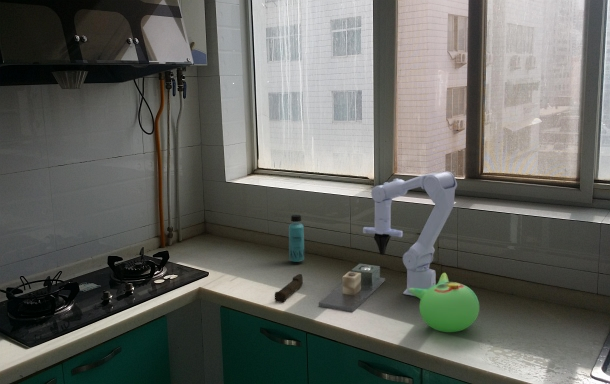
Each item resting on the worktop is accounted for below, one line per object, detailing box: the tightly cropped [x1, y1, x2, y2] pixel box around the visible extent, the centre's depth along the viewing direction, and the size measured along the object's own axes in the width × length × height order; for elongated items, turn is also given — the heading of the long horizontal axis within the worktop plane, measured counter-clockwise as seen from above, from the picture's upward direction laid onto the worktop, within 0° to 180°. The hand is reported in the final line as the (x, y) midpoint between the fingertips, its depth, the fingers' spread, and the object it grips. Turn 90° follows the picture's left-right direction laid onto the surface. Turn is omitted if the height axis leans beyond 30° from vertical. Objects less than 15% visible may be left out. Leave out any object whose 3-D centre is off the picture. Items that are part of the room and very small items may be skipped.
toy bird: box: [408, 272, 480, 333], centre depth 165 cm, size 18×17×15 cm
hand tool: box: [274, 273, 304, 303], centre depth 197 cm, size 19×4×5 cm, turn 154°
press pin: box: [361, 267, 371, 271], centre depth 205 cm, size 4×4×4 cm
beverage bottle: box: [288, 214, 305, 263], centre depth 228 cm, size 6×7×20 cm
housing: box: [341, 271, 361, 295], centre depth 194 cm, size 4×6×6 cm
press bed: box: [318, 263, 386, 313], centre depth 195 cm, size 12×31×6 cm, turn 153°
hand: (382, 253), depth 205 cm, fingers closed
